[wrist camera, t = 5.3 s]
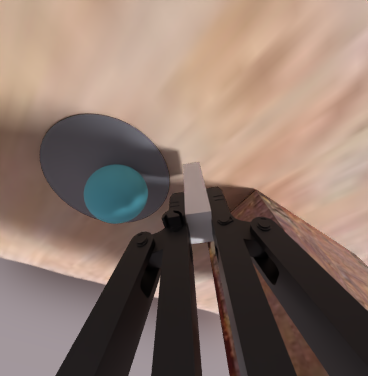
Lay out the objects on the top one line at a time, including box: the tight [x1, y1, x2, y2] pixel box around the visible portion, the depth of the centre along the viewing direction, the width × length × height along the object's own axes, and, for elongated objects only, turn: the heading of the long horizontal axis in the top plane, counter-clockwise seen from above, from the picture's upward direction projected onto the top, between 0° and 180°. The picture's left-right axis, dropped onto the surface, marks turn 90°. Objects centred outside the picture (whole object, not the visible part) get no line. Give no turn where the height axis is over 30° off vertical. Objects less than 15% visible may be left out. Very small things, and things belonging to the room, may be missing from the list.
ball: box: [84, 164, 148, 224], centre depth 15 cm, size 6×6×6 cm
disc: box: [40, 114, 169, 222], centre depth 17 cm, size 13×13×1 cm
